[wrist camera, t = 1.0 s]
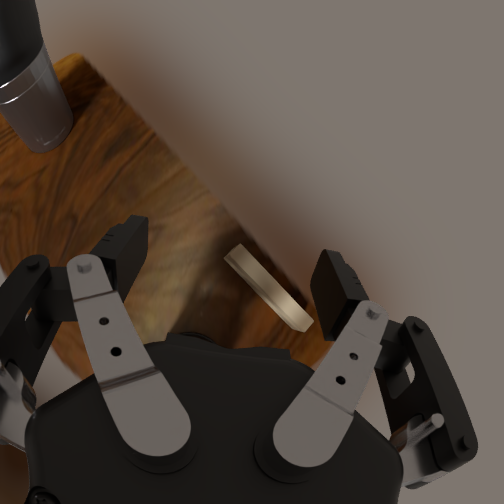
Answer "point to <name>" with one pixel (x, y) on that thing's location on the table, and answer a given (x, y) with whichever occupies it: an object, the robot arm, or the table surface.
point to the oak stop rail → (268, 288)
